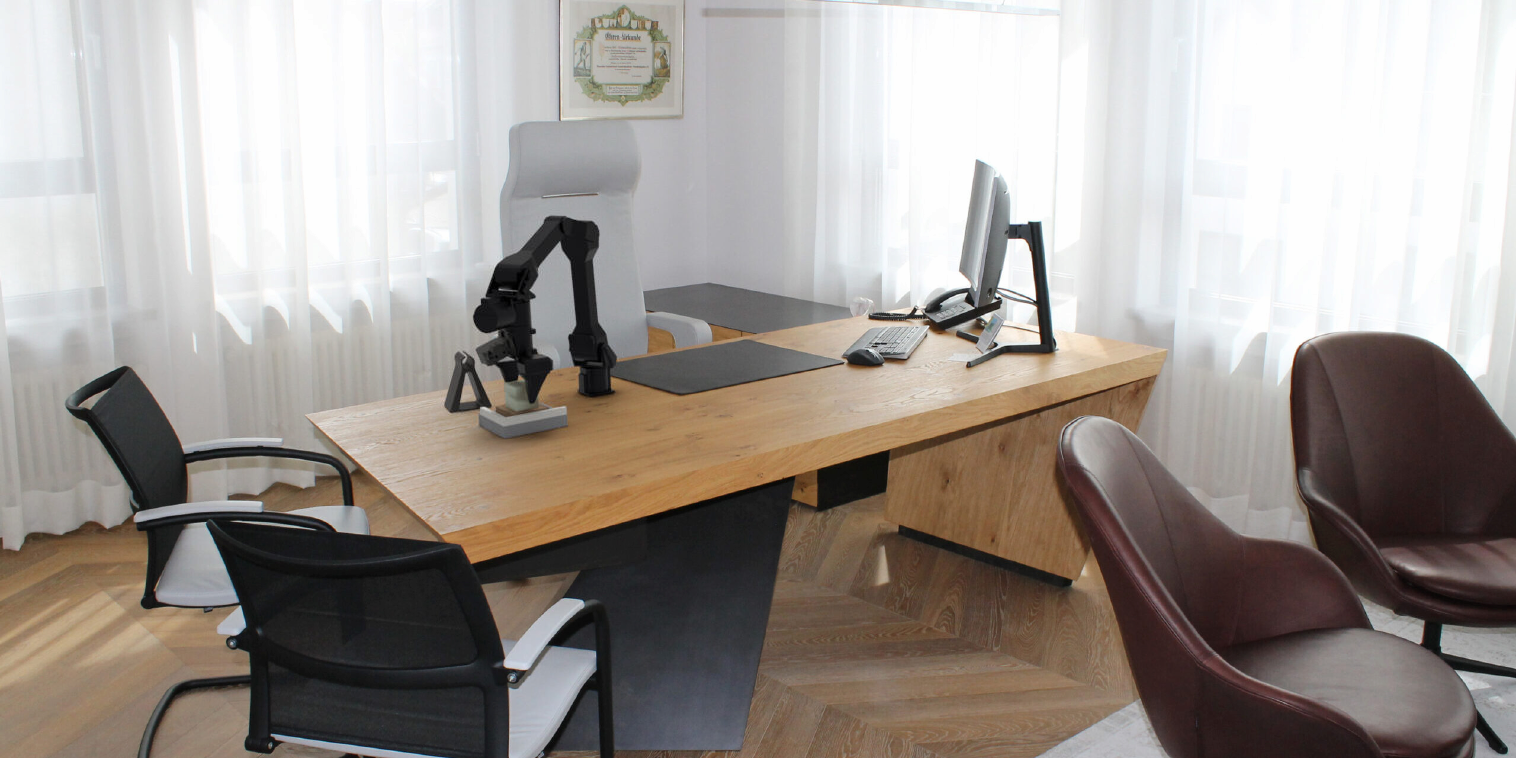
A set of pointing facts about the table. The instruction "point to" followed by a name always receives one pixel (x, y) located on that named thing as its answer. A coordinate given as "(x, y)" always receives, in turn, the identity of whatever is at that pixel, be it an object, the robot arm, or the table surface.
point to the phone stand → (458, 381)
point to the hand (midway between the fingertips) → (521, 398)
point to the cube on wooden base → (517, 400)
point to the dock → (523, 421)
